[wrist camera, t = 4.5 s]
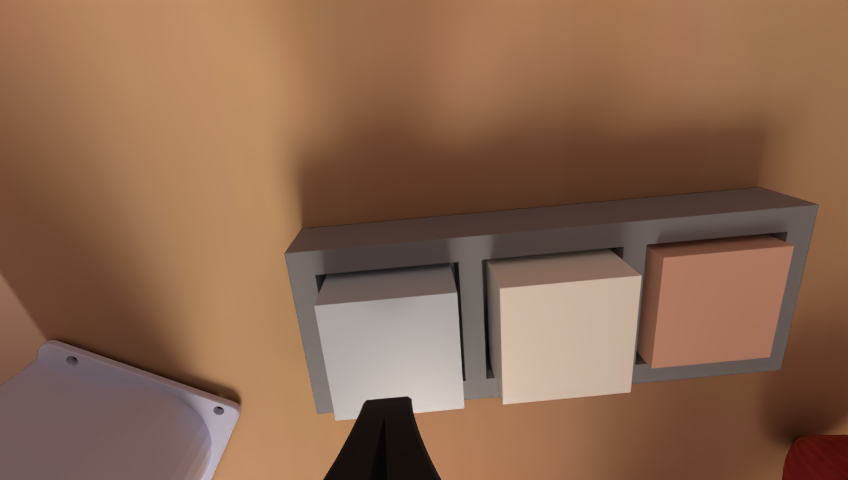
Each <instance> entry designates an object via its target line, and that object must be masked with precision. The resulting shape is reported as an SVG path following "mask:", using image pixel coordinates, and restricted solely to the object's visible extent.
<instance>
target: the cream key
mask: <svg viewBox="0 0 848 480" xmlns="http://www.w3.org/2000/svg"><path fill="white" fill-rule="evenodd" d="M486 273H487V300H488V327H489V355H490V364H491V367H492V370H493V374H494V377H495V380H496V384H497V387H498V390H499V393H500V397H501V400H502V403H503V404H514V403H524V402H535V401H545V400H556V399H566V398H576V397H587V396H597V395H608V394H618V393H629V392H631V383H632V372H633V362H634V351H635V341H636V330H637V320H638V309H639V298H640V288H641V277H642V275H641V274H639V273H638V272H637V271H636V270H634V269H633V268H632V267H631V266H630V265H628V264H627V263H626V262H625V261H623V260H622V259H621V258H620V257H618V256H617V255H616V254H615V253H614V252H612V251H611V250H610V249H609V248H603V249H593V250H582V251H571V252H560V253H549V254H538V255H527V256H517V257H506V258H495V259H486Z"/></svg>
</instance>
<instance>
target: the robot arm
mask: <svg viewBox="0 0 848 480" xmlns="http://www.w3.org/2000/svg"><path fill="white" fill-rule="evenodd" d="M72 356H73V357H75V358H76V359H77V360H75V359H74V358H73V357H72ZM217 406H219V407H222V408H223V409H219V408H218V407H217ZM240 413H241V407H240V406H239V404H237V403H236V402H233V401H231V400H228V399H225V398H222V397H219V396H216V395H213V394H210V393H207V392H204V391H202V390H199V389H196V388H193V387H190V386H187V385H184V384H181V383H178V382H175V381H173V380H170V379H167V378H164V377H161V376H158V375H155V374H152V373H149V372H147V371H144V370H141V369H138V368H135V367H132V366H129V365H126V364H123V363H120V362H118V361H115V360H112V359H109V358H106V357H103V356H100V355H97V354H94V353H91V352H89V351H86V350H83V349H80V348H77V347H74V346H71V345H68V344H65V343H62V342H60V341H56V340H49V341H47V342H46V343H44V344H43V345H41V346H40V348H39V351H38V355H37V359H36V360H35V361H34V362H32V363H31V364H30V365H28V366H27V367H26V368H24V369H23V370H22V371H20V372H19V373H18V374H16V375H15V376H14V377H12V378H11V379H10V380H8V381H7V382H6V383H4V384H3V385H2V386H0V480H211V479H212V477H213V474H214V472H215V470H216V468H217V465H218V463H219V461H220V458H221V456H222V454H223V452H224V449H225V447H226V445H227V442H228V440H229V438H230V436H231V433H232V431H233V429H234V427H235V424H236V422H237V420H238V417H239V415H240ZM323 480H441V478H440V477H439V475H438V473H437V471H436V469H435V467H434V465H433V463H432V461H431V459H430V457H429V455H428V452H427V450H426V448H425V445H424V443H423V441H422V438H421V436H420V433H419V430H418V427H417V424H416V421H415V417H414V414H413V407H412V399H411V398H409V397H408V396H404V397H394V398H383V399H373V400H366V401H365V402H364V403H363V406H362V408H361V411H360V413H359V415H358V418H357V420H356V422H355V424H354V426H353V428H352V430H351V432H350V434H349V436H348V438H347V440H346V442H345V444H344V446H343V447H342V449H341V451H340V453H339V455H338V456H337V458H336V460H335V462H334V463H333V465H332V466H331V468H330V470H329V471H328V473H327V474H326V476H325V478H324V479H323Z"/></svg>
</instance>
